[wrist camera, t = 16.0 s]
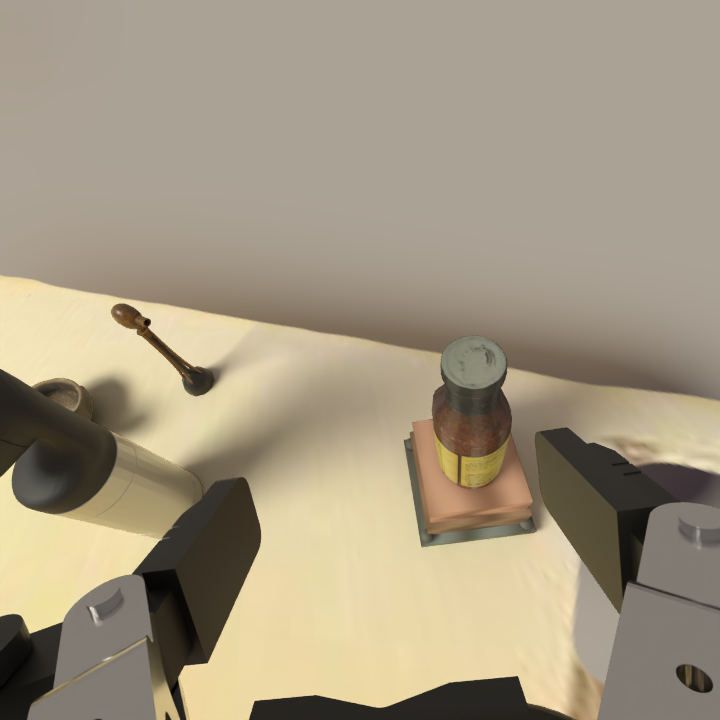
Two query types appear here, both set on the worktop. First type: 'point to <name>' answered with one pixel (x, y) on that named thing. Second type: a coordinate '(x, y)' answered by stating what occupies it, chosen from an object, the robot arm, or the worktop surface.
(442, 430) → the sauce bottle
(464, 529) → the copper and grey block
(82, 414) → the bowl
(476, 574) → the worktop surface
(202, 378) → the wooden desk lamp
